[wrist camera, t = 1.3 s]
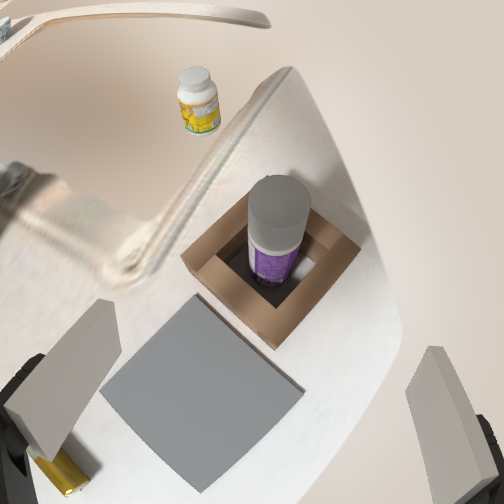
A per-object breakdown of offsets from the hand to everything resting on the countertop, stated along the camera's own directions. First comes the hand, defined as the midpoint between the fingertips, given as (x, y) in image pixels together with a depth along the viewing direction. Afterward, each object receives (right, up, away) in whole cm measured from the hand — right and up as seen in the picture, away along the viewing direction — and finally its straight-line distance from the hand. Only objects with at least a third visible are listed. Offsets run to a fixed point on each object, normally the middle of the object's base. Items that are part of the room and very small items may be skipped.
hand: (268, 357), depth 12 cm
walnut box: (+1, +2, +24) cm, 24 cm away
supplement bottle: (-8, +23, +33) cm, 41 cm away
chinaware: (-94, +82, +57) cm, 137 cm away
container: (+1, +2, +24) cm, 25 cm away
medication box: (-25, -20, +16) cm, 36 cm away
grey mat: (-7, -11, +19) cm, 23 cm away
